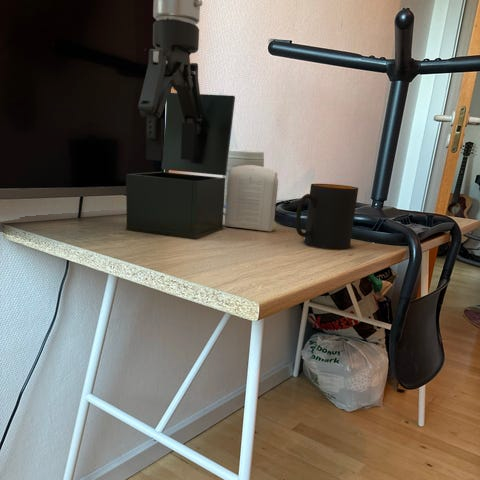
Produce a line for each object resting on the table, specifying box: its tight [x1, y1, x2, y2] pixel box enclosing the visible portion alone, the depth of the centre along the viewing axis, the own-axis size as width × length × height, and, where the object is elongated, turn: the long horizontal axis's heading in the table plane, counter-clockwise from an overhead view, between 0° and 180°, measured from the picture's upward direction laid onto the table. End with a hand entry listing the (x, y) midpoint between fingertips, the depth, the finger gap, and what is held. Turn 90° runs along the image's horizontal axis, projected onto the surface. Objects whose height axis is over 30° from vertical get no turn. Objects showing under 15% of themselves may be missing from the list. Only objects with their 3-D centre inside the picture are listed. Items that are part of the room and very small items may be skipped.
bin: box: [125, 171, 225, 240], centre depth 91 cm, size 14×14×10 cm
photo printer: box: [224, 165, 279, 233], centre depth 97 cm, size 10×4×12 cm, turn 75°
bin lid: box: [160, 92, 236, 176], centre depth 94 cm, size 14×14×1 cm
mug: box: [295, 183, 359, 250], centre depth 86 cm, size 8×12×10 cm
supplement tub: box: [222, 149, 265, 215], centre depth 115 cm, size 10×10×15 cm
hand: (172, 160), depth 87 cm, fingers open, 13 cm apart
